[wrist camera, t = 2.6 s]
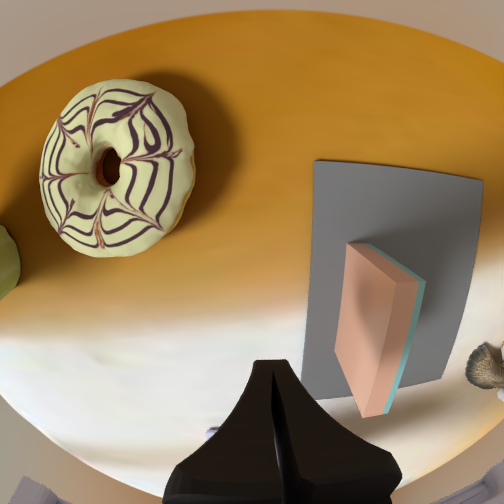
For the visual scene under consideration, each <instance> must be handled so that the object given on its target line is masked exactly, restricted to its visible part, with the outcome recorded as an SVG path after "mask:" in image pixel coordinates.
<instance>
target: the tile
mask: <svg viewBox="0 0 504 504" xmlns="http://www.w3.org/2000/svg"><path fill="white" fill-rule="evenodd" d="M425 284H426V281H425V280H424V279H422V278H421V277H419V276H418V275H416V274H415V273H414V272H412V271H411V270H409V269H408V268H406V267H405V266H403V265H402V264H400V263H399V262H397V261H396V260H394V259H393V258H391V257H390V256H388V255H387V254H385V253H384V252H382V251H381V250H379V249H378V248H376V247H375V246H373V245H372V244H370V243H347V246H346V258H345V270H344V280H343V289H342V298H341V307H340V315H339V322H338V329H337V336H336V343H335V349H334V351H335V354H336V356H337V358H338V361H339V363H340V365H341V368H342V370H343V372H344V375H345V377H346V379H347V382H348V384H349V387H350V389H351V391H352V394H353V396H354V399H355V401H356V404H357V406H358V409H359V411H360V413H361V416H362V418H366V417H372V416H377V415H382V414H387V413H388V412H389V410H390V407H391V404H392V402H393V399H394V397H395V394H396V391H397V388H398V385H399V383H400V380H401V377H402V374H403V371H404V368H405V364H406V361H407V358H408V355H409V351H410V348H411V344H412V341H413V337H414V333H415V329H416V325H417V321H418V317H419V313H420V309H421V304H422V299H423V294H424V289H425Z"/></svg>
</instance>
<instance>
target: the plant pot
mask: <svg viewBox="0 0 504 504" xmlns="http://www.w3.org/2000/svg"><path fill="white" fill-rule="evenodd" d="M20 272H21V265H20V257H19V253H18V249H17V246H16V244H15V241H14V240H13V239H12V238H11V237H10V236H9V235H8V233H7V230H6V228H5V227H3V226H2V225H0V300H1V299H3V298H4V297H5V296H6V295H7V294H8V293H9V292H10V291H11V290H13V289H14V288H15V286H16V284H17V281H18V279H19V277H20Z"/></svg>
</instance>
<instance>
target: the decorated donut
mask: <svg viewBox="0 0 504 504" xmlns="http://www.w3.org/2000/svg"><path fill="white" fill-rule="evenodd" d="M113 148H114V149H115V150H116V152H117V154H118V156H119V157H120V158H122V159H121V164H120V170H119V172H120V178H119V180H118V181H117V182H116V183H115V184H114V185H111V184H109V183H107V182H106V179H104V177H103V169H102V166H103V160H104V158H105V156H106V154H107V152H108V151H109V150H111V149H113ZM195 176H196V167H195V163H194V143H193V140H192V137H191V135H190V133H189V131H188V123H187V117H186V112H185V110H184V108H183V105H182V104H181V102H180V101H179V100H178V99H177V98H176V97H175V96H174V95H172V94H171V93H169V92H167V91H165V90H163V89H161V88H158V87H156V86H154V85H152V84H150V83H148V82H144V81H136V80H130V79H113V80H107V81H103V82H99V83H96V84H94V85H91V86H88V87H86V88H84V89H83V90H82V91H80V92H79V93H78V94H77V95H76V96H75V97H74V98H73V99H72V100H71V101H70V102H69V104H68V105H67V106H66V107H65V109H64V110H63V112H62V113H61V115H60V116H59V117H58V119H57V120H56V122H55V124H54V126H53V127H52V129H51V131H50V133H49V135H48V137H47V139H46V142H45V145H44V149H43V153H42V158H41V166H40V173H39V183H40V188H41V196H42V201H43V205H44V208H45V213H46V216H47V218H48V220H49V221H50V223H51V225H52V227H54V228H55V230H56V231H57V232H58V234H59V235H60V237H61V238H62V239H63V240H64V241H65V242H66V243H67V244H69V245H70V246H71V247H72V248H73V249H74V250H76V251H78V252H80V253H83V254H86V255H89V256H92V257H122V256H132V255H135V254H138V253H140V252H143V251H145V250H147V249H149V248H151V247H153V246H154V245H155V244H156V243H157V242H158V241H159V240H160V239H161V238H162V237H163V236H165V235H166V234H168V233H169V232H171V230H172V229H173V228H174V227H175V226H176V224H177V223H178V222H179V220H180V218H181V217H182V213H183V209H184V206H185V204H186V201H187V200H188V198H189V196H190V194H191V191H192V189H193V187H194V184H195Z"/></svg>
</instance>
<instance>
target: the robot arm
mask: <svg viewBox="0 0 504 504" xmlns="http://www.w3.org/2000/svg"><path fill="white" fill-rule="evenodd" d="M205 436H206V442H205V443H204V444H203V445H202V446H201V447H200V448H199V449H198V450H196V451H195V452H194V453H193V454H191V455H190V456H189V457H187V458H186V459H184V460H183V461H182V462H180V463H179V464H177V465H176V467H175V468H174V470H173V472H172V474H171V476H170V478H169V480H168V482H167V485H166V488H165V492H164V496H163V500H162V503H163V504H392V501H391V498H390V495H391V494H392V492H393V491H394V490H395V489H396V487H397V486H398V485H399V483H400V481H401V479H402V473H401V470H400V468H399V466H398V464H397V462H396V460H395V459H394V457H393V456H392V454H391V453H390V452H388V451H386V450H384V449H381V448H379V447H377V446H375V445H372V444H370V443H368V442H367V441H365V440H363V439H361V438H359V437H358V436H356V435H355V434H353V433H352V432H350V431H349V430H347V429H346V428H345V427H343V426H342V425H340V424H339V423H338V422H337V421H336V420H334V419H333V418H332V417H331V416H330V415H329V414H328V413H327V412H326V411H325V410H324V409H323V408H322V407H321V406H320V405H319V404H318V403H317V402H316V401H315V400H314V399H313V398H312V396H311V395H310V394H309V393H308V391H307V390H306V389H305V387H304V386H303V385H302V383H301V382H300V381H299V379H298V378H297V376H296V375H295V373H294V371H293V370H292V368H291V366H290V364H289V362H288V361H287V360H286V359H281V360H256V361H254V362H253V369H252V372H251V375H250V378H249V381H248V383H247V385H246V387H245V390H244V392H243V394H242V395H241V397H240V399H239V401H238V402H237V404H236V406H235V408H234V409H233V411H232V412H231V413H230V415H229V416H228V418H227V419H226V420H225V422H224V423H223V424H222V425H221V426H220V428H219V429H218V430H207V431H206V434H205ZM8 504H72V503H70V502H67V501H65V500H63V499H60V498H58V496H57V495H56V494H55V493H54V492H53V491H52V490H51V489H50V488H48V487H47V486H45V485H43V484H41V483H39V482H37V481H35V480H33V479H31V478H30V477H28V476H25V475H24V476H23V477H22V479H21V481H20V483H19V485H18V486H17V488H16V490H15V492H14V493H13V495H12V497H11V499H10V501H9V503H8ZM431 504H504V460H502V461H501V462H499V463H497V464H496V465H495V466H493V467H492V468H491V469H490V470H489V471H488V472H487V473H486V474H485V475H484V476H483V478H482V479H480V480H478V481H476V482H475V483H473V484H471V485H469V486H467V487H465V488H463V489H461V490H459V491H457V492H455V493H453V494H451V495H449V496H447V497H445V498H442V499H440V500H438V501H435V502H433V503H431Z"/></svg>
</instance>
